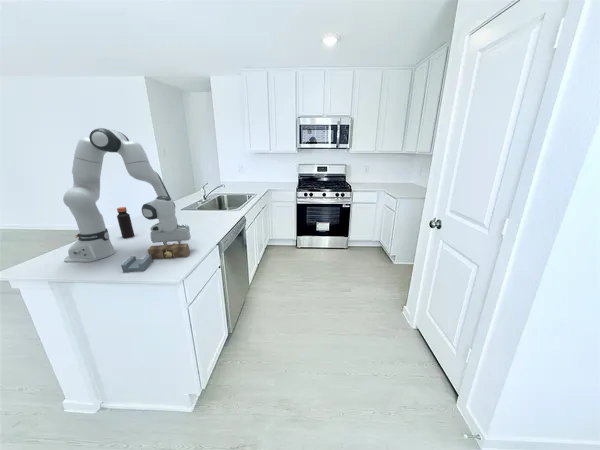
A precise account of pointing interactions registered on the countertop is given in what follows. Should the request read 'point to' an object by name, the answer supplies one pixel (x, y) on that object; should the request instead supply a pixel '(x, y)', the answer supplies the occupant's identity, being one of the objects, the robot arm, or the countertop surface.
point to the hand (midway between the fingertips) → (173, 248)
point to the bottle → (125, 223)
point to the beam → (177, 249)
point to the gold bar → (168, 253)
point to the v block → (136, 264)
